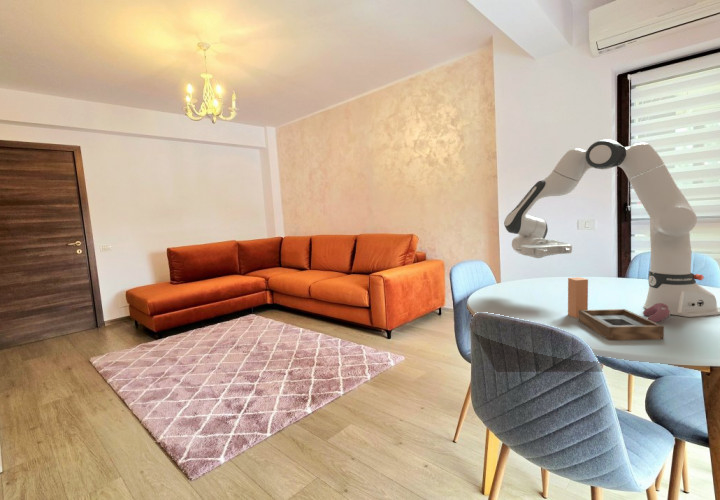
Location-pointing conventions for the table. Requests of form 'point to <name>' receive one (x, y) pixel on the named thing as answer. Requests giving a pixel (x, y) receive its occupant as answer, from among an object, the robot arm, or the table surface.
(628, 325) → the box
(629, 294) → the table surface
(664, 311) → the video game controller
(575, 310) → the peg
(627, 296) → the table surface
